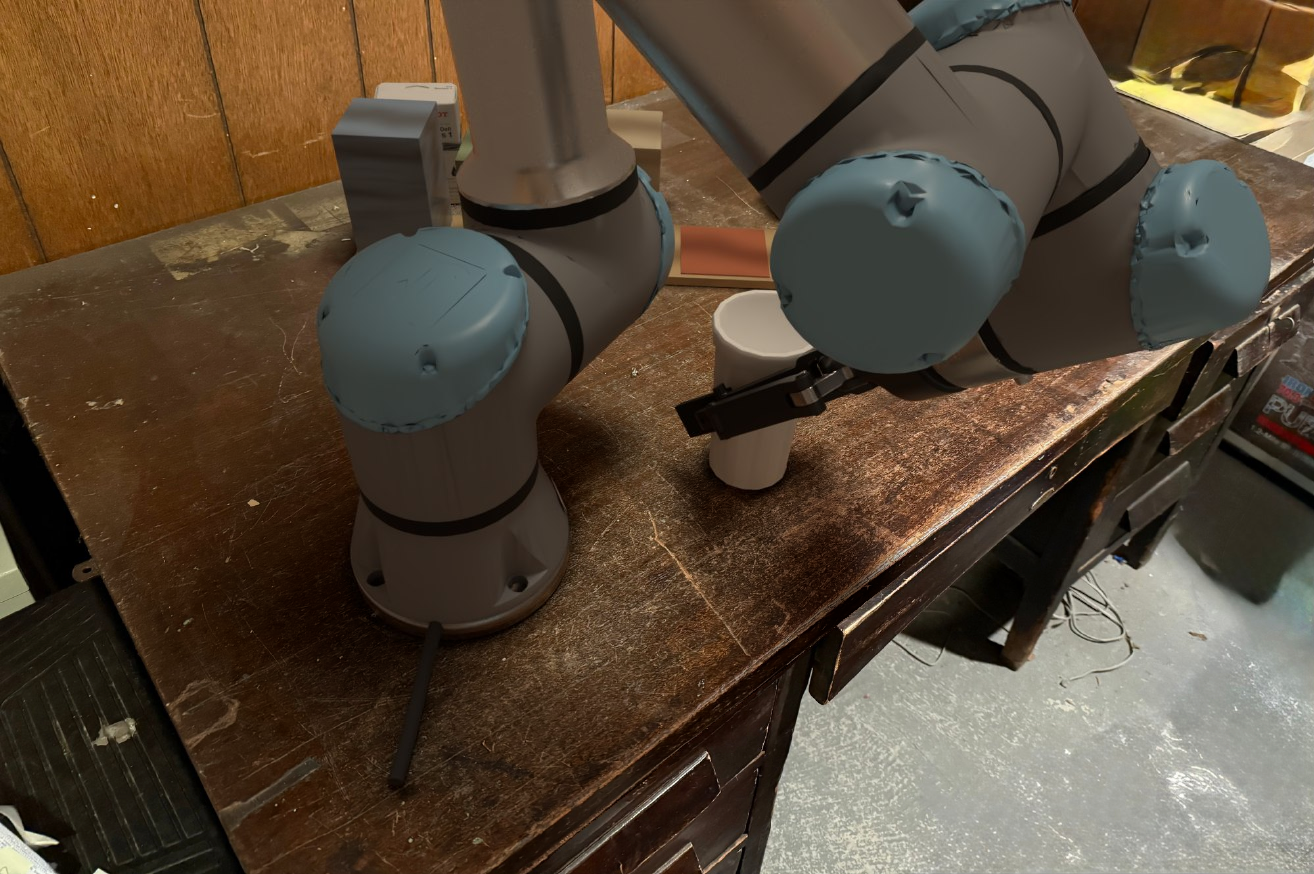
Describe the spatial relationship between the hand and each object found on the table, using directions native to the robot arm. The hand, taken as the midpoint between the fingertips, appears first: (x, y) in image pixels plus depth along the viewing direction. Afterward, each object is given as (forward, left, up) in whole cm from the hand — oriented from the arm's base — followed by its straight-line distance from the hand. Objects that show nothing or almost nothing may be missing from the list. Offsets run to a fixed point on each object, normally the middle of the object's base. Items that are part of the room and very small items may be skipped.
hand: (721, 397), depth 70 cm
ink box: (+39, +32, -5) cm, 50 cm away
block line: (+28, +15, -5) cm, 32 cm away
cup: (-2, -2, -5) cm, 6 cm away
